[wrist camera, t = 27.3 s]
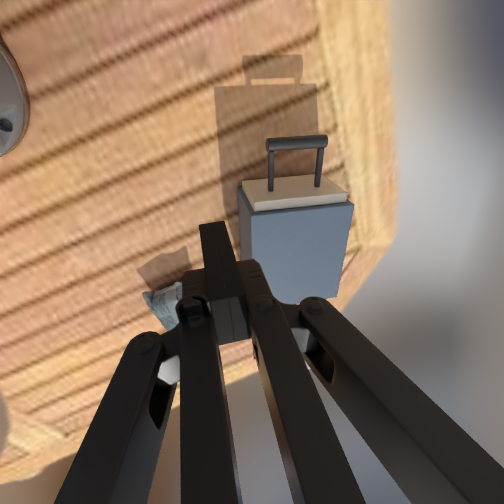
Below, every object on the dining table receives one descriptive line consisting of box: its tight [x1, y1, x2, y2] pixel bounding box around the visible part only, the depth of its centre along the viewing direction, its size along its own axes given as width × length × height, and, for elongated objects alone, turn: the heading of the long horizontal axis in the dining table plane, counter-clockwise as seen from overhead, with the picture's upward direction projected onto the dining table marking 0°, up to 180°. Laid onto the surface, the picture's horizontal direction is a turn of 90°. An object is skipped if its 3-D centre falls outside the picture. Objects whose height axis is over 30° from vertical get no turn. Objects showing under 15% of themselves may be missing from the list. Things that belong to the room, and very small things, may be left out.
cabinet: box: [237, 187, 354, 304], centre depth 40 cm, size 15×13×10 cm
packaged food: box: [142, 282, 182, 331], centre depth 45 cm, size 9×12×5 cm
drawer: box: [242, 135, 347, 213], centre depth 37 cm, size 20×11×8 cm, turn 1°
